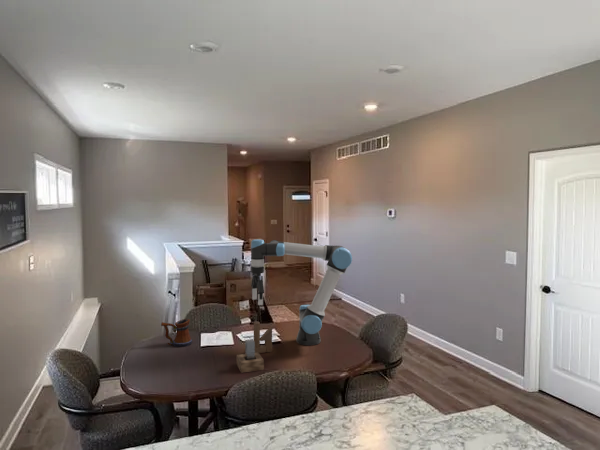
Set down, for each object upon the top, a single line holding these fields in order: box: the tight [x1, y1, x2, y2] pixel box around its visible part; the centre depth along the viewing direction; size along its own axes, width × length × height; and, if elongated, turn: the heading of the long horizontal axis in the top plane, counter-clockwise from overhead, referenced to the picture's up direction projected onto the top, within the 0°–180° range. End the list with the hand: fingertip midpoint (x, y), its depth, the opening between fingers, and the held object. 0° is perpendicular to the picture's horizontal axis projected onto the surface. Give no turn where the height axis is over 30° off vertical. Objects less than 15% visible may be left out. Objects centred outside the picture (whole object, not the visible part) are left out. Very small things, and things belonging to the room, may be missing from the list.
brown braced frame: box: [253, 321, 273, 354], centre depth 247 cm, size 4×11×18 cm, turn 111°
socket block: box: [236, 353, 265, 374], centre depth 225 cm, size 12×12×5 cm
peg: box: [244, 339, 255, 360], centre depth 225 cm, size 4×4×14 cm
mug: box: [160, 318, 193, 348], centre depth 258 cm, size 18×12×15 cm, turn 108°
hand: (257, 302), depth 248 cm, fingers open, 13 cm apart
